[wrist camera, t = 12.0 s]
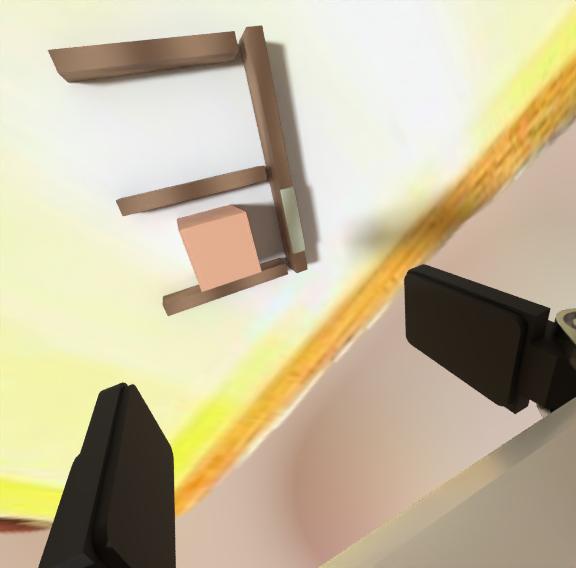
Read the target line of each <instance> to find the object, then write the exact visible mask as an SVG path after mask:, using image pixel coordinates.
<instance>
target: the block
mask: <svg viewBox="0 0 576 568" xmlns="http://www.w3.org/2000/svg"><path fill="white" fill-rule="evenodd" d="M177 224H178V229H179V232H180V235H181V238H182V240H183V243H184V246H185V248H186V251H187V254H188V256H189V259H190V262H191V264H192V267H193V270H194V272H195V275H196V278H197V280H198V283H199V286H200V288H201V291H202V292H203V291H206V290H209V289H212V288H215V287H218V286H221V285H224V284H227V283H230V282H233V281H236V280H239V279H242V278H245V277H248V276H251V275H254V274H257V273H260V272H262V271H261V267H260V264H259V260H258V256H257V252H256V249H255V245H254V241H253V237H252V233H251V230H250V226H249V222H248V218H247V214H246V212H245V211H243V210H241V209H239V208H237V207H235V206H233V205H227V206H223V207H220V208H216V209H212V210H208V211H205V212H201V213H197V214H193V215H190V216H186V217H182V218H178V219H177Z"/></svg>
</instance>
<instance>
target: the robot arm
mask: <svg viewBox="0 0 576 568" xmlns="http://www.w3.org/2000/svg"><path fill="white" fill-rule="evenodd" d="M404 286H405V319H406V320H405V321H406V323H405V324H406V338H407V340H408V342H409V343H410V344H411V345H413V346H414V347H415V348H417V349H418V350H420V351H421V352H423V353H424V354H425V355H427V356H428V357H430V358H431V359H432V360H434V361H435V362H437V363H438V364H440V365H441V366H443V367H444V368H445V369H447V370H448V371H450V372H451V373H453V374H454V375H455V376H457V377H458V378H460V379H461V380H463V381H464V382H465V383H467V384H468V385H470V386H471V387H473V388H474V389H475V390H477V391H478V392H480V393H481V394H482V395H484V396H485V397H487V398H488V399H490V400H491V401H492V402H494V403H495V404H497V405H499V406H504V407H506V408H507V409H509V410H510V411H511V412H513V413H514V414H516V413H518V412H519V411H521V410H523V409H524V408H526V407H527V406H528V404H529V400H532V401H533V402H535V403H536V405H537V408H538V410H539V412H540V413H541V415H542V417H543V419H542V420H540V421H538V422H537V423H535V424H534V425H532V426H531V427H529V428H528V429H526V430H525V431H523V432H522V433H520V434H518V435H517V436H515V437H514V438H512V439H511V440H509V441H508V442H506V443H505V444H503V445H502V446H500V447H499V448H497V449H496V450H494V451H493V452H491V453H490V454H488V455H487V456H485V457H484V458H482V459H481V460H479V461H478V462H476V463H475V464H473V465H472V466H470V467H469V468H467V469H465V470H464V471H463V472H461V473H459V474H458V475H456V476H455V477H453V478H452V479H450V480H449V481H447V482H446V483H444V484H443V485H441V486H440V487H438V488H437V489H435V490H434V491H432V492H431V493H429V494H428V495H426V496H425V497H423V498H422V499H420V500H419V501H418V502H416V503H414V504H413V505H411V506H410V507H408V508H407V509H405V510H404V511H402V512H401V513H399V514H398V515H396V516H395V517H393V518H392V519H390V520H389V521H387V522H386V523H384V524H383V525H381V526H380V527H378V528H377V529H376V530H374V531H372V532H371V533H370V534H368V535H366V536H365V537H363V538H362V539H360V540H359V541H357V542H356V543H355V544H353V545H351V546H350V547H348V548H347V549H345V550H344V551H343V552H341V553H340V554H338V555H337V556H335V557H334V558H332V559H331V560H329V561H328V562H326V563H325V564H323V565H322V566H320V567H319V568H576V308H573V309H566V310H562V311H560V312H559V313H557V314H556V318H555V322H552V321H549V320H548V317H549V313H550V308H548V307H545V306H542V305H539V304H536V303H533V302H531V301H528V300H525V299H522V298H519V297H517V296H514V295H511V294H508V293H505V292H502V291H499V290H497V289H494V288H491V287H488V286H485V285H482V284H479V283H477V282H474V281H471V280H468V279H465V278H462V277H459V276H457V275H453V274H451V273H448V272H445V271H442V270H440V269H437V268H433V267H431V266H428V265H424V264H423V265H420V266H417V267H415V268H412V269H410V270H409V271H408V272H407V275H406V276H405V279H404ZM38 568H176V556H175V504H174V458H173V452H172V449H171V446H170V444H169V442H168V441H167V439H166V437H165V435H164V434H163V432H162V430H161V429H160V427H159V425H158V423H157V422H156V420H155V418H154V417H153V415H152V413H151V411H150V410H149V408H148V406H147V405H146V403H145V401H144V399H143V398H142V396H141V394H140V393H139V391H138V389H137V388H136V386H135V385H134V384H132V385H129V386H128V385H127V384H126V383H120V384H118V385H115V386H113V387H110V388H107V389H105V390H102V391H101V392H100V393H99V395H98V398H97V402H96V405H95V408H94V411H93V414H92V417H91V421H90V424H89V427H88V430H87V433H86V436H85V440H84V443H83V446H82V449H81V452H80V454H79V455H78V456H77V457H76V458H75V460H74V462H73V464H72V467H71V470H70V473H69V476H68V479H67V482H66V485H65V488H64V491H63V494H62V497H61V500H60V503H59V506H58V509H57V512H56V515H55V518H54V521H53V524H52V528H51V531H50V534H49V537H48V540H47V543H46V546H45V549H44V552H43V555H42V558H41V561H40V564H39V567H38Z"/></svg>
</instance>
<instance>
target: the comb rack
mask: <svg viewBox="0 0 576 568" xmlns="http://www.w3.org/2000/svg"><path fill="white" fill-rule="evenodd" d="M239 44H240V48H241V53H242V58H243V62H244V67H245V71H246V76H247V81H248V85H249V90H250V94H251V99H252V104H253V108H254V113H255V117H256V122H257V126H258V131H259V136H260V140H261V145H262V149H263V154H264V159H265V163H266V168H267V172H268V177H269V182H270V186H271V191H272V195H273V200H274V205H275V209H276V214H277V218H278V223H279V227H280V232H281V237H282V241H283V246H284V250H285V255H286V260H287V264H288V267H290V268H291V269H292V270H294V271H295V272H296V273H299V272H302V271H304V270H307V263H306V258H305V253H304V250H305V244H304V239H303V233H302V228H301V223H300V217H299V212H298V206H297V201H296V195H295V190H294V187H292V183H291V178H290V172H289V167H288V161H287V156H286V151H285V145H284V140H283V135H282V129H281V124H280V119H279V113H278V108H277V103H276V97H275V92H274V86H273V81H272V76H271V70H270V65H269V60H268V54H267V49H266V44H265V38H264V33H263V27H262V26H252V27H246V29H245V31H244V33H243V35H242V37H241V38H240V40H239ZM48 51H49V54H50V56H51V58H52V60H53V63H54V65H55V67H56V69H57V71H58V73H59V74H60V75H61V76H62V77H63V78H64V79H65V80H66V81H67V82H75V81H82V80H90V79H98V78H106V77H113V76H121V75H129V74H137V73H144V72H152V71H160V70H168V69H175V68H183V67H191V66H198V65H206V64H214V63H222V62H229V61H234V59H235V58H236V56H237V54H238V52H239V50H238V45H237V41H236V36H235V31H231V32H222V33H212V34H202V35H192V36H182V37H172V38H162V39H152V40H142V41H132V42H122V43H112V44H103V45H93V46H83V47H73V48H63V49H53V50H48ZM266 180H267V177H266V172H265V167H264V166H257V167H253V168H249V169H244V170H240V171H236V172H232V173H227V174H223V175H219V176H214V177H210V178H206V179H202V180H197V181H193V182H189V183H185V184H180V185H176V186H172V187H168V188H163V189H159V190H155V191H151V192H146V193H142V194H138V195H134V196H129V197H125V198H121V199H118V200H116V202H117V205H118V207H119V209H120V211H121V213H122V216H126V215H130V214H134V213H138V212H142V211H146V210H150V209H154V208H158V207H162V206H166V205H170V204H174V203H178V202H182V201H186V200H190V199H194V198H198V197H202V196H206V195H210V194H214V193H218V192H222V191H226V190H230V189H234V188H238V187H242V186H246V185H250V184H254V183H258V182H262V181H266ZM260 267H261V271H262V272H260V273H257V274H254V275H251V276H248V277H245V278H242V279H239V280H236V281H233V282H230V283H227V284H224V285H221V286H218V287H215V288H212V289H209V290H206V291H203V292H202V291H201V288H200V286H199V285H197V286H194V287H191V288H188V289H185V290H182V291H179V292H176V293H173V294H170V295H167V296H164V297H163V307H164V309H165V311H166V313H167V315H168V316H170V315H173V314H176V313H179V312H181V311H184V310H187V309H190V308H193V307H196V306H199V305H201V304H204V303H207V302H210V301H213V300H216V299H219V298H221V297H224V296H227V295H230V294H233V293H236V292H239V291H241V290H244V289H247V288H250V287H253V286H256V285H258V284H261V283H264V282H267V281H270V280H273V279H276V278H278V277H281V276H284V275H287V274H288V272H287V267H286V263H285V262H283V261H282V260H280V259H279V258H278V259H275V260H272V261H269V262H266V263H263V264H260Z"/></svg>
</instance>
